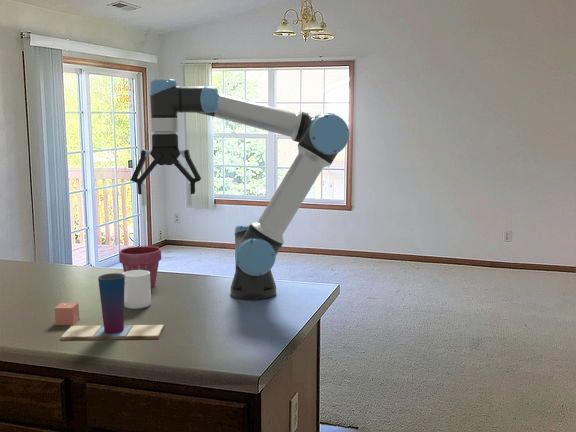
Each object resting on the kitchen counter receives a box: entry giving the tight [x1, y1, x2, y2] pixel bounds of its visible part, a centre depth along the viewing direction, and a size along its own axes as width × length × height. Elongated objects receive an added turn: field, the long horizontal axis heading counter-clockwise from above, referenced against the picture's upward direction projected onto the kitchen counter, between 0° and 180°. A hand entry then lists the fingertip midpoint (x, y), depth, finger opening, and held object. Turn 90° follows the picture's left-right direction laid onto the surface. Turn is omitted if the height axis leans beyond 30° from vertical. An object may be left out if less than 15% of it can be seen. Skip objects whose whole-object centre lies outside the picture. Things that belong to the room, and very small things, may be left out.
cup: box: [97, 272, 125, 334], centre depth 164 cm, size 7×7×15 cm
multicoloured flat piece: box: [59, 324, 165, 341], centre depth 165 cm, size 26×9×1 cm, turn 92°
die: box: [54, 302, 80, 326], centre depth 174 cm, size 5×5×5 cm
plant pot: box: [118, 245, 162, 288], centre depth 212 cm, size 14×14×13 cm
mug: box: [122, 270, 152, 310], centre depth 188 cm, size 12×8×10 cm
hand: (167, 205), depth 183 cm, fingers open, 13 cm apart
